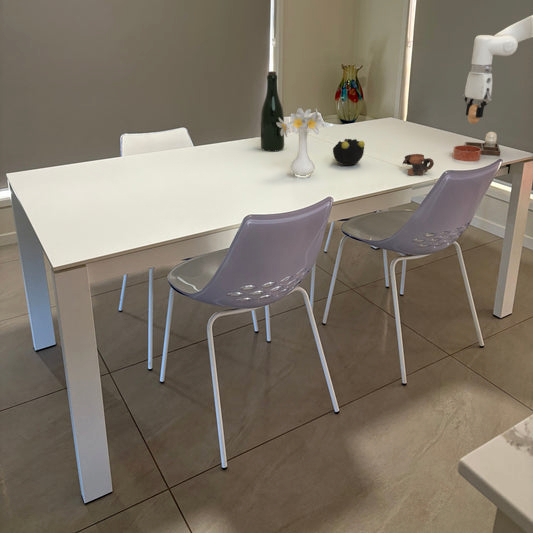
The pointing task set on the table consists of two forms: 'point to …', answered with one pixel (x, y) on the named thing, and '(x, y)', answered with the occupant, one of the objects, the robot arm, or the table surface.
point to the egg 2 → (490, 139)
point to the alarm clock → (348, 151)
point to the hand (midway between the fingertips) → (474, 115)
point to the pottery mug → (418, 164)
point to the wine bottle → (271, 117)
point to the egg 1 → (473, 114)
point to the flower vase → (302, 139)
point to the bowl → (467, 153)
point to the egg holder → (486, 148)
